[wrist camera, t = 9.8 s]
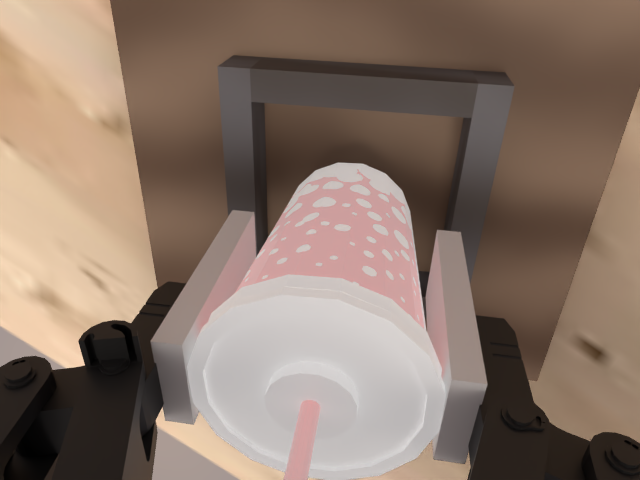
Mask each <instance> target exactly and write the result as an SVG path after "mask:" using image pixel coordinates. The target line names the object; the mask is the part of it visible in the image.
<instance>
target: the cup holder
mask: <svg viewBox="0 0 640 480" xmlns="http://www.w3.org/2000/svg"><path fill="white" fill-rule="evenodd" d="M110 2H111V8H112V14H113V20H114V26H115V32H116V39H117V45H118V51H119V57H120V63H121V69H122V75H123V81H124V87H125V93H126V99H127V105H128V111H129V117H130V123H131V129H132V135H133V141H134V147H135V153H136V159H137V165H138V171H139V177H140V183H141V189H142V195H143V201H144V207H145V214H146V220H147V226H148V232H149V238H150V244H151V250H152V256H153V262H154V268H155V274H156V280H157V286H158V288H159V287H160V286H162V285H163V284H165V283H166V282H168V281H170V282H179V283H187V282H188V280H189V279H190V277H191V276H192V274H193V272H194V271H195V269H196V268H197V266H198V264H199V263H200V261H201V260H202V258H203V256H204V255H205V253H206V252H207V250H208V248H209V247H210V245H211V244H212V242H213V240H214V239H215V237H216V236H217V234H218V232H219V231H220V229H221V228H222V226H223V224H224V223H225V221H226V220H227V218H228V216H229V215H230V213H231V212H232V210H238V211H248V212H254V216H255V240H256V257H257V255H258V254H259V252H260V250H261V249H262V247H263V245H264V244H265V242H266V240H267V238H268V237H269V235H270V233H271V232H272V230H273V228H274V227H275V225H276V223H277V222H278V220H279V218H280V217H281V215H282V213H283V212H284V210H285V208H286V207H287V205H288V203H289V202H290V200H291V198H292V196H293V195H294V193H295V191H296V190H297V188H298V186H299V185H300V184H301V183H302V182H303V181H304V180H306V179H307V178H308V177H309V176H310V175H311V174H312V173H313V172H314V171H315V170H318V169H321V168H324V167H327V166H330V165H333V164H335V163H359V164H365V165H367V166H369V167H372V168H374V169H376V170H379V171H381V172H383V173H385V174H387V175H388V177H389V178H390V179H391V180H392V181H393V182H394V183H395V184H396V185H397V186H398V187H399V188H400V189H401V190H402V191H403V194H404V197H405V199H406V202H407V205H408V207H409V210H410V215H411V222H412V230H413V237H414V244H415V251H416V259H417V266H418V273H419V281H420V288H421V295H422V302H423V310H424V317H425V324H426V331H427V316H426V291H427V285H428V280H429V274H430V268H431V262H432V256H433V250H434V245H435V239H436V233H437V230H444V231H455V232H461V236H462V242H463V247H464V253H465V259H466V265H467V270H468V276H469V282H470V287H471V293H472V299H473V305H474V310H475V315H479V316H487V317H496V318H504V319H505V320H506V321H507V323H508V324H509V325H510V326H511V327H512V329H513V330H514V331H515V334H516V337H517V341H518V345H519V348H520V352H521V356H522V360H523V363H524V367H525V371H526V375H527V378H528V380H534V381H537V380H538V377H539V374H540V371H541V368H542V365H543V362H544V360H545V357H546V354H547V351H548V348H549V345H550V342H551V340H552V337H553V334H554V331H555V328H556V325H557V322H558V319H559V317H560V314H561V311H562V308H563V305H564V302H565V299H566V297H567V294H568V291H569V288H570V285H571V282H572V279H573V277H574V274H575V271H576V268H577V265H578V262H579V259H580V257H581V254H582V251H583V248H584V245H585V242H586V239H587V237H588V234H589V231H590V228H591V225H592V222H593V219H594V216H595V214H596V211H597V208H598V205H599V202H600V199H601V196H602V194H603V191H604V188H605V185H606V182H607V179H608V176H609V174H610V171H611V168H612V165H613V162H614V159H615V156H616V154H617V151H618V148H619V145H620V142H621V139H622V136H623V133H624V131H625V128H626V125H627V122H628V119H629V116H630V113H631V111H632V108H633V105H634V102H635V99H636V96H637V93H638V91H639V88H640V0H110Z"/></svg>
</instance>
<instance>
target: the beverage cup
mask: <svg viewBox="0 0 640 480" xmlns="http://www.w3.org/2000/svg"><path fill="white" fill-rule="evenodd" d="M187 370H188V377H189V383H190V388H191V393H192V398H193V403H194V405H195V406H196V407H197V409H198V410H199V412H200V413H201V414H202V416H203V417H204V418H205V420H206V421H207V422H208V424H209V425H210V427H211V428H212V429H213V431H214V432H215V433H216V435H217V436H219V437H220V438H222V439H223V440H224V441H226V442H227V443H229V444H230V445H231V446H233V447H234V448H236V449H237V450H238V451H240V452H241V453H242V454H244V455H245V456H247V457H248V458H249V459H251V460H253V461H256V462H259V463H261V464H264V465H266V466H269V467H272V468H274V469H277V470H280V471H282V472H285V476H284V480H308V477H309V478H317V479H324V480H349V479H357V478H365V477H372V476H380V475H382V474H384V473H386V472H388V471H391V470H393V469H395V468H397V467H399V466H401V465H403V464H405V463H407V462H410V461H412V460H414V459H416V458H417V457H418V456H419V454H420V453H421V452H422V451H423V450H424V449H425V447H426V446H427V445H428V444H429V443H430V442H431V440H432V439H433V438H434V437H435V436H436V435H437V433H438V432H439V429H440V424H441V420H442V414H443V407H444V401H445V395H446V394H445V385H444V382H443V380H442V377H441V374H442V367H441V365H440V362H439V360H438V357H437V355H436V353H435V350H434V348H433V345H432V343H431V340H430V338H429V335H428V333H427V331H426V324H425V317H424V310H423V302H422V295H421V288H420V281H419V273H418V266H417V259H416V251H415V244H414V237H413V230H412V222H411V215H410V210H409V207H408V205H407V202H406V199H405V197H404V194H403V191H402V190H401V189H400V188H399V187H398V186H397V185H396V184H395V183H394V182H393V181H392V180H391V179H390V178H389V177H388V175H387V174H385V173H383V172H381V171H379V170H376V169H374V168H372V167H369V166H367V165H365V164H359V163H335V164H333V165H330V166H327V167H324V168H321V169H318V170H315V171H314V172H313V173H312V174H311V175H310V176H309V177H308V178H307V179H306V180H304V181H303V182H302V183H301V184H300V185H299V186H298V188H297V190H296V191H295V193H294V195H293V196H292V198H291V200H290V202H289V203H288V205H287V207H286V208H285V210H284V212H283V213H282V215H281V217H280V218H279V220H278V222H277V223H276V225H275V227H274V228H273V230H272V232H271V233H270V235H269V237H268V238H267V240H266V242H265V244H264V245H263V247H262V249H261V250H260V252H259V254H258V255H257V257H256V259H255V260H254V262H253V264H252V265H251V267H250V269H249V270H248V272H247V274H246V275H245V277H244V279H243V280H242V282H241V284H240V286H239V287H238V289H237V291H236V292H235V294H233V295H232V296H231V297H230V298H229V299H227V300H226V301H225V302H224V303H223V304H221V305H220V306H219V307H218V308H217V309H216V310H214V311H213V312H212V313H211V315H210V318H209V321H208V323H207V324H205V325H204V326H203V327H202V329H201V331H200V333H199V335H198V338H197V341H196V343H195V346H194V349H193V352H192V355H191V357H190V360H189V363H188V366H187Z"/></svg>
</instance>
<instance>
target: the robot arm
mask: <svg viewBox="0 0 640 480" xmlns="http://www.w3.org/2000/svg"><path fill="white" fill-rule="evenodd" d="M255 259H256V240H255V216H254V212H248V211H238V210H232V212H231V213H230V215H229V216H228V218H227V220H226V221H225V223H224V224H223V226H222V228H221V229H220V231H219V232H218V234H217V236H216V237H215V239H214V240H213V242H212V244H211V245H210V247H209V248H208V250H207V252H206V253H205V255H204V256H203V258H202V260H201V261H200V263H199V264H198V266H197V268H196V269H195V271H194V272H193V274H192V276H191V277H190V279H189V280H188V282H187V283H179V282H170V281H168V282H166V283H165V284H163V285H162V286H160V287H159V288H158V289H156V290H155V291H154V292H153V293H152V295H151V296H150V297H149V299H148V300H147V302H146V305H144V306H143V307H142V309H141V310H140V312H139V314H138V315H137V316H136V317H135V319H134V320H133V322H132V323H128V322H126V321H118V320H112V321H107V322H102V323H100V324H97V325H95V326H93V327H91V328H90V329H88V330H87V331H86V332H85V333H83V335H82V336H81V338H80V339H79V341H78V342H79V345H80V349H81V352H82V356H83V359H84V363H85V366H81V367H75V368H67V369H58V370H52V368H51V365H50V363H49V362H48V361H47V360H46V359H45V358H41V357H37V356H30V357H22V358H19V359H15V360H12V361H10V362H9V363H7V364H5V365H3V366H1V367H0V480H152V473H153V465H154V457H155V449H156V440H157V425H156V418H157V416H158V414H159V412H160V410H161V408H162V407H163V410H164V416H165V421H172V422H179V423H186V424H193V425H194V423H195V420H196V418H197V416H198V413H199V410H198V409H197V407H196V406H195V405H194V403H193V398H192V393H191V388H190V383H189V377H188V370H187V366H188V363H189V360H190V357H191V355H192V352H193V349H194V346H195V343H196V341H197V338H198V335H199V333H200V331H201V329H202V327H203V326H204V325H205V324H207V323H208V321H209V318H210V315H211V313H212V312H213V311H214V310H216V309H217V308H218V307H219V306H220V305H221V304H223V303H224V302H225V301H226V300H227V299H229V298H230V297H231V296H232V295H233V294H235V292H236V291H237V289H238V287H239V286H240V284H241V282H242V280H243V279H244V277H245V275H246V274H247V272H248V270H249V269H250V267H251V265H252V264H253V262H254V260H255ZM426 316H427V333H428V335H429V338H430V340H431V343H432V345H433V348H434V350H435V353H436V355H437V357H438V360H439V362H440V365H441V367H442V374H441V377H442V380H443V382H444V385H445V394H446V395H445V401H444V407H443V414H442V420H441V424H440V429H439V432H438V433H437V435H436V436H435V437H434V438H433V439H432V440H433V459H434V460H441V461H448V462H455V463H462V464H465V462H466V459H467V455H468V452H469V456H470V465H471V469H470V472H469V475H468V479H467V480H640V443H638V442H636V441H635V440H633V439H631V438H630V437H627V436H624V435H621V434H618V433H612V432H603V433H600V434H598V435H595V436H594V437H593V439H592V440H591V441H588V440H585V439H583V438H580V437H578V436H575V435H572V434H570V433H567V432H565V431H563V430H561V429H559V428H557V427H556V426H554V425H553V424H551V423H550V422H549V420H548V418H547V416H546V415H545V413H544V412H543V410H541V409H540V408H539V407H538V406H537V405H536V404H535V403H534V401H533V397H532V393H531V390H530V386H529V382H528V378H527V375H526V371H525V367H524V363H523V360H522V356H521V352H520V348H519V345H518V341H517V337H516V334H515V331H514V330H513V329H512V327H511V326H510V325H509V324H508V323H507V321H506V320H505V319H504V318H496V317H487V316H479V315H475V310H474V305H473V299H472V293H471V287H470V282H469V276H468V270H467V265H466V259H465V253H464V247H463V242H462V236H461V232H455V231H444V230H437V233H436V239H435V245H434V250H433V256H432V262H431V268H430V274H429V280H428V285H427V291H426Z"/></svg>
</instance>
